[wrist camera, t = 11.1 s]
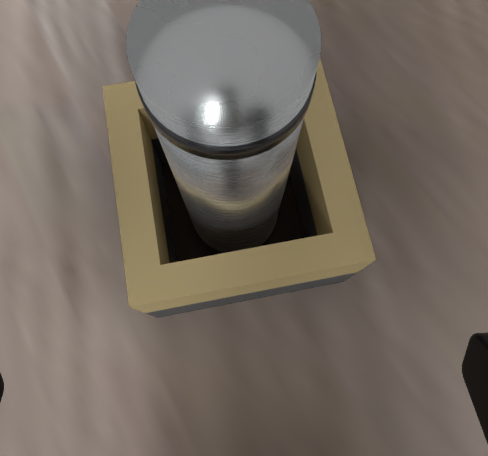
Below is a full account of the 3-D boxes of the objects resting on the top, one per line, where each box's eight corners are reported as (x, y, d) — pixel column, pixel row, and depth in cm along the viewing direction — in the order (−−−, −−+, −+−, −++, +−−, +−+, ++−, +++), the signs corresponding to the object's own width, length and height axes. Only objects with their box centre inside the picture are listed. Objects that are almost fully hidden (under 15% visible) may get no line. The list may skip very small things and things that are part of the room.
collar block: (343, 281, 20) (376, 259, 15) (157, 317, 19) (129, 307, 14) (301, 116, 22) (318, 50, 17) (133, 145, 21) (102, 86, 17)
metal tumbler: (294, 228, 20) (362, 71, 9) (216, 270, 20) (179, 163, 8) (251, 156, 21) (262, -70, 10) (175, 195, 21) (91, 4, 9)
